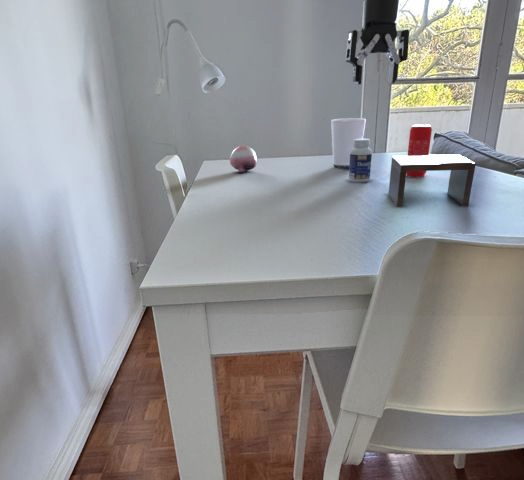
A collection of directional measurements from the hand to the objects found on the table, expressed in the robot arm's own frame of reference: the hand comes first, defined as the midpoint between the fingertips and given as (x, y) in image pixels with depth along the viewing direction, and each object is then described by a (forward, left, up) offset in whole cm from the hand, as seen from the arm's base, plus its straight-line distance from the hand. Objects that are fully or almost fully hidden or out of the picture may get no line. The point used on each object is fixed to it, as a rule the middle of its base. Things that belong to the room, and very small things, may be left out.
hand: (374, 83), depth 109 cm
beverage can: (-13, -5, -22) cm, 26 cm away
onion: (+34, -17, -22) cm, 44 cm away
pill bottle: (+2, 0, -22) cm, 22 cm away
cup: (+4, -22, -22) cm, 31 cm away
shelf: (-10, +23, -22) cm, 33 cm away
